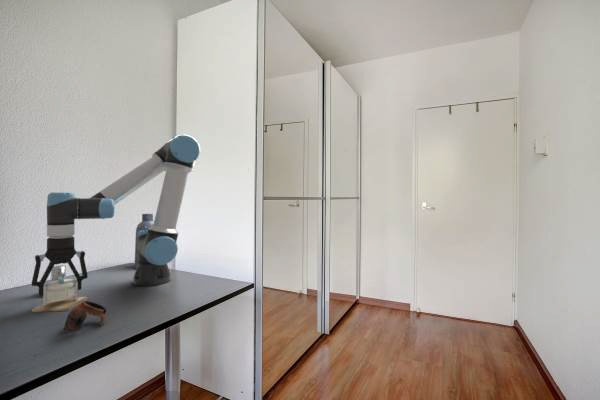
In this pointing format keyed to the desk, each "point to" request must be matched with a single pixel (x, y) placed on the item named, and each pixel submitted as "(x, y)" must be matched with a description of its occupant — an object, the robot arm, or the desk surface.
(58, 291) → the cap
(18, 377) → the desk surface
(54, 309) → the coaster
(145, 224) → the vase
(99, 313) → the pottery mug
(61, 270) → the bayonet post
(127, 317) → the desk surface
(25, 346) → the desk surface
